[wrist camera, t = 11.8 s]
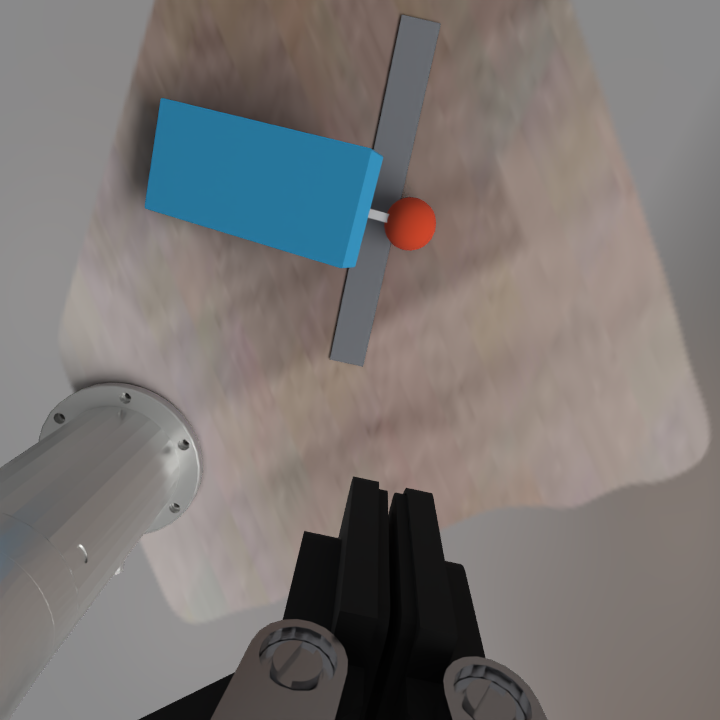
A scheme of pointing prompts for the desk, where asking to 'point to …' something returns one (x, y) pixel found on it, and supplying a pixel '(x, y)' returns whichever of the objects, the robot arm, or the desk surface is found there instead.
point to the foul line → (386, 183)
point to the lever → (274, 185)
